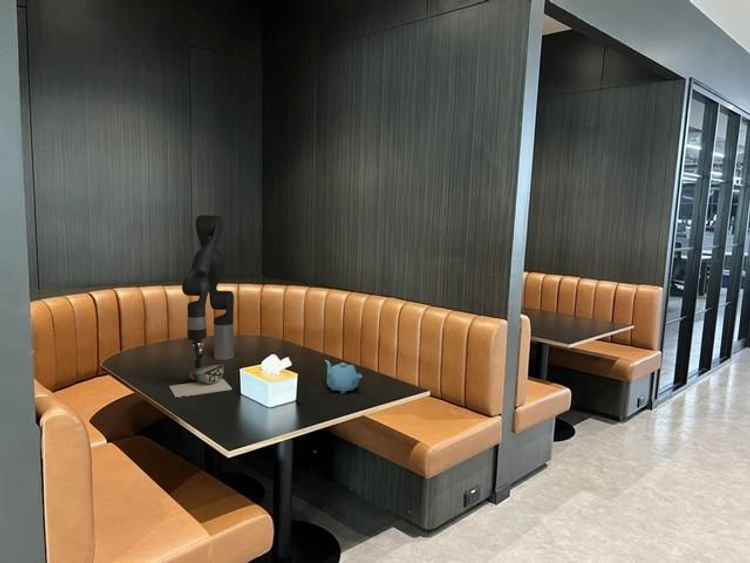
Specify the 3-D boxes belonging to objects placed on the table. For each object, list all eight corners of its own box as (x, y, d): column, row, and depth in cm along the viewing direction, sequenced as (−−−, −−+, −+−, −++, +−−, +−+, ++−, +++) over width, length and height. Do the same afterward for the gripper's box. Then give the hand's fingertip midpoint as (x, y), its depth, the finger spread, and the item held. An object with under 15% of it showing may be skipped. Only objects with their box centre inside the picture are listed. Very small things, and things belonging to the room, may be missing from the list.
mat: (169, 387, 224) (169, 385, 224) (223, 379, 235) (223, 378, 235) (175, 397, 212) (175, 396, 212) (231, 389, 223) (231, 388, 223)
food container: (189, 388, 227) (207, 388, 223) (185, 374, 227) (203, 373, 222) (210, 378, 238) (227, 377, 234) (206, 365, 237) (224, 364, 233)
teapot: (323, 395, 219) (323, 368, 217) (324, 384, 232) (324, 358, 231) (361, 395, 220) (361, 368, 218) (360, 384, 233) (360, 359, 232)
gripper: (210, 329, 220) (210, 371, 222) (202, 323, 231) (203, 362, 233) (190, 331, 216) (191, 373, 218) (184, 324, 227) (185, 364, 230)
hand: (197, 367), depth 226 cm, fingers closed
